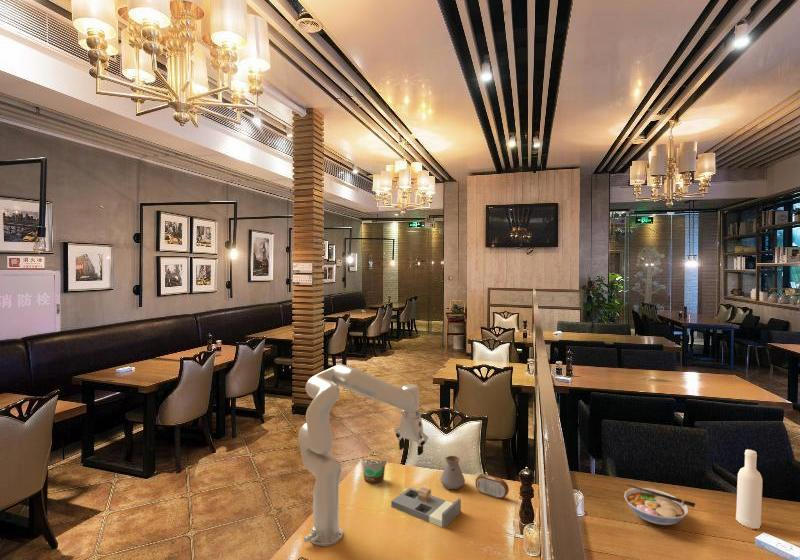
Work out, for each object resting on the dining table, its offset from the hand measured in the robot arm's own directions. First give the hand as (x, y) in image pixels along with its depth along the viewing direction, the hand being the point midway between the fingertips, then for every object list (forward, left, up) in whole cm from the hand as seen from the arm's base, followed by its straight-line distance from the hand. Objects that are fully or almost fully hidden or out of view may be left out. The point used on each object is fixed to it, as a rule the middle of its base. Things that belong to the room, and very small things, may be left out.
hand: (411, 451), depth 194 cm
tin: (+24, -27, -22) cm, 43 cm away
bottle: (+64, -120, -22) cm, 138 cm away
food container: (+2, +24, -22) cm, 32 cm away
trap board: (-3, -9, -22) cm, 24 cm away
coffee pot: (+17, -11, -22) cm, 30 cm away
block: (0, -7, -19) cm, 20 cm away
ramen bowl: (+46, -89, -22) cm, 103 cm away
